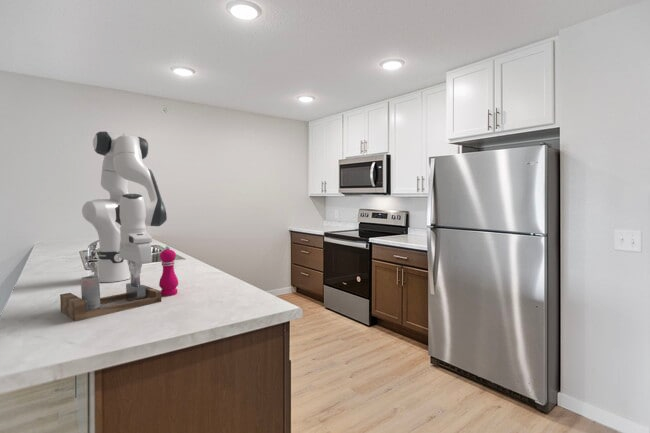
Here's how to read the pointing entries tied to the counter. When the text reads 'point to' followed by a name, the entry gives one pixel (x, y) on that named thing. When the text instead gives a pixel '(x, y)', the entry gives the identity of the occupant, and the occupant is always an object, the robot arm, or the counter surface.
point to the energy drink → (90, 292)
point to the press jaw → (135, 286)
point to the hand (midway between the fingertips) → (135, 272)
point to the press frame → (77, 309)
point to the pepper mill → (168, 273)
